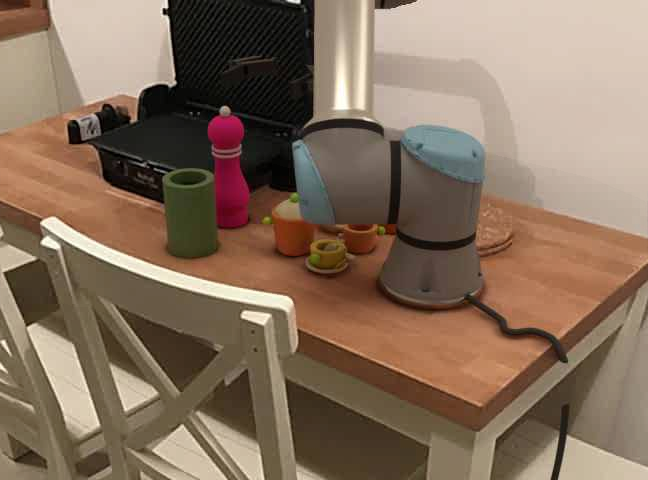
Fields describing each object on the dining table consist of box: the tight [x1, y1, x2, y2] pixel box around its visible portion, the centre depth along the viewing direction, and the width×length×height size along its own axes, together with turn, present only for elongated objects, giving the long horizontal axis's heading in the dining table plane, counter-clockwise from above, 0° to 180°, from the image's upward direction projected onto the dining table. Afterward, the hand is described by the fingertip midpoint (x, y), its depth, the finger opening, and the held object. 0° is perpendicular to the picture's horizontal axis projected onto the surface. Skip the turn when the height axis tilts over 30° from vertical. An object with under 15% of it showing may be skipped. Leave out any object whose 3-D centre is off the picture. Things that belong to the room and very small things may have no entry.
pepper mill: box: [207, 105, 251, 229], centre depth 154 cm, size 7×7×20 cm
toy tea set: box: [262, 192, 396, 274], centre depth 149 cm, size 26×16×10 cm, turn 137°
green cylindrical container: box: [161, 167, 219, 259], centre depth 148 cm, size 8×8×12 cm
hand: (255, 86), depth 154 cm, fingers open, 13 cm apart
